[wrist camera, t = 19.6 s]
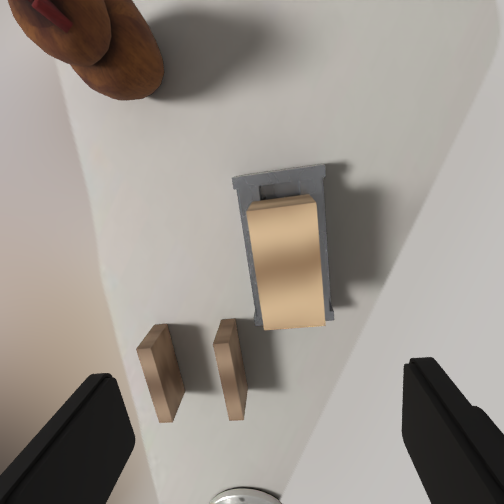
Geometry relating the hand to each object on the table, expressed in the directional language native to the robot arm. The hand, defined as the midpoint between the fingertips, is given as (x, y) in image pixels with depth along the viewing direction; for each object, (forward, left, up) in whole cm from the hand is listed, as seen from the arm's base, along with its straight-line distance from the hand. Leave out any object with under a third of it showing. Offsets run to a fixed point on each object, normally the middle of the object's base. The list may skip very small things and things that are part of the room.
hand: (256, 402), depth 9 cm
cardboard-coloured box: (-1, -1, -18) cm, 18 cm away
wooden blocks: (-14, +10, -21) cm, 27 cm away
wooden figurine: (+17, +10, -21) cm, 28 cm away
